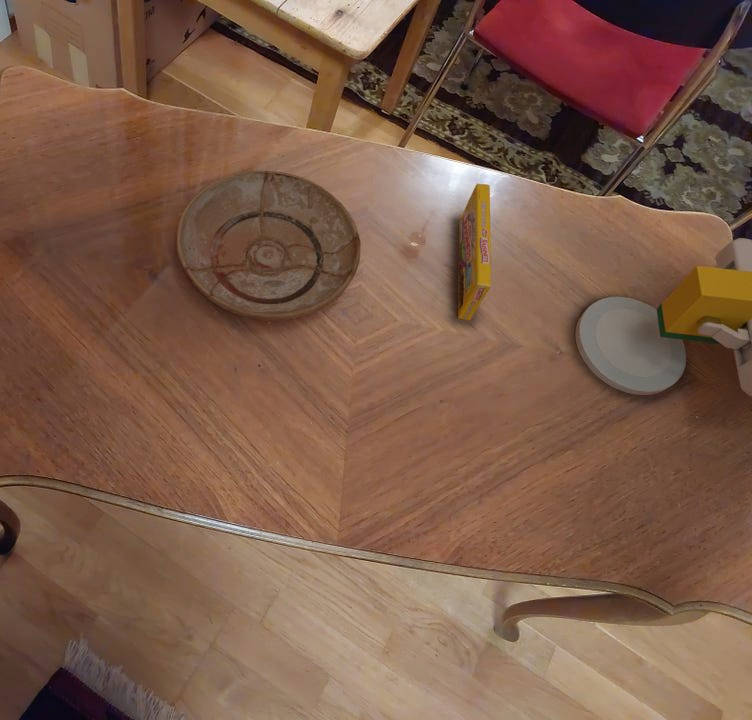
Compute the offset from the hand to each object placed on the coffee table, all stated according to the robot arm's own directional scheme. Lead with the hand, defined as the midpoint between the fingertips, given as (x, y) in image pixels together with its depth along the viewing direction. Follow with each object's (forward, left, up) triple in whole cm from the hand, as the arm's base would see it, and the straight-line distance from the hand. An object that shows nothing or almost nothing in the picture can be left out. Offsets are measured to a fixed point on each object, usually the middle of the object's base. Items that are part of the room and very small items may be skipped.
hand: (696, 304), depth 76 cm
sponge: (-2, -1, -4) cm, 5 cm away
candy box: (+23, +9, -12) cm, 28 cm away
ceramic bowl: (+41, +29, -12) cm, 52 cm away
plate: (+1, +1, -11) cm, 11 cm away
